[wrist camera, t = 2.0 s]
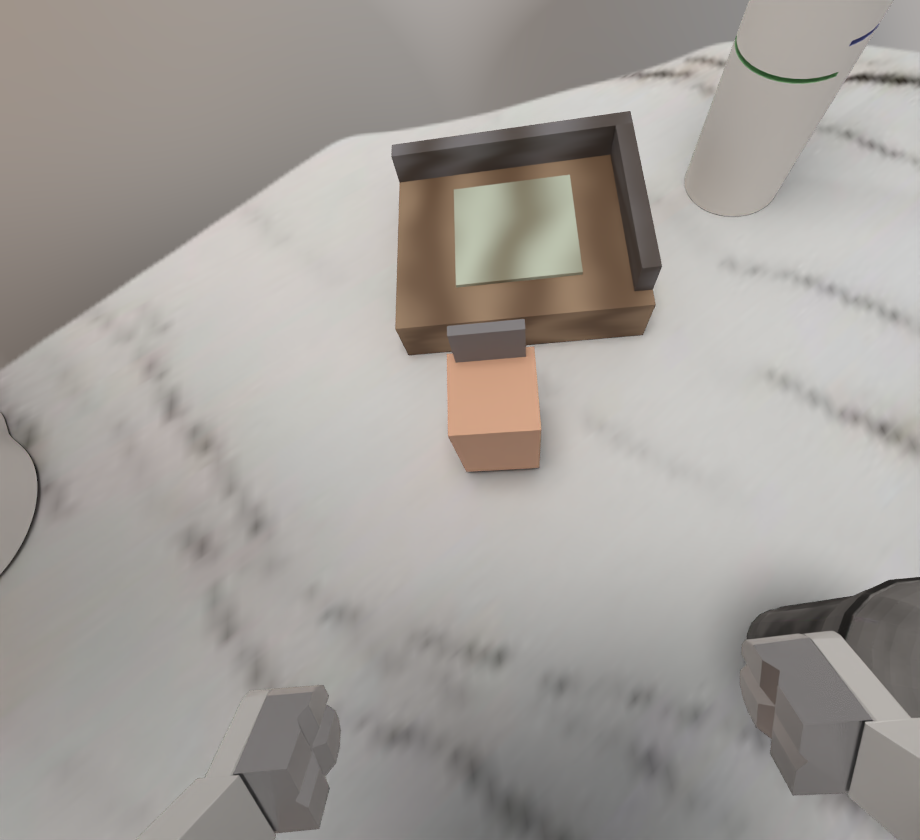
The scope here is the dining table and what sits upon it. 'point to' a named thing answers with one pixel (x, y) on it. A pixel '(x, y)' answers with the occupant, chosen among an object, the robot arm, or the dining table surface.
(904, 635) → the beverage cup
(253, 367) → the dining table surface
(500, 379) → the tan block
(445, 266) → the dock
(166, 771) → the dining table surface
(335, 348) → the dining table surface
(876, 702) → the robot arm
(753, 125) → the cylindrical container
